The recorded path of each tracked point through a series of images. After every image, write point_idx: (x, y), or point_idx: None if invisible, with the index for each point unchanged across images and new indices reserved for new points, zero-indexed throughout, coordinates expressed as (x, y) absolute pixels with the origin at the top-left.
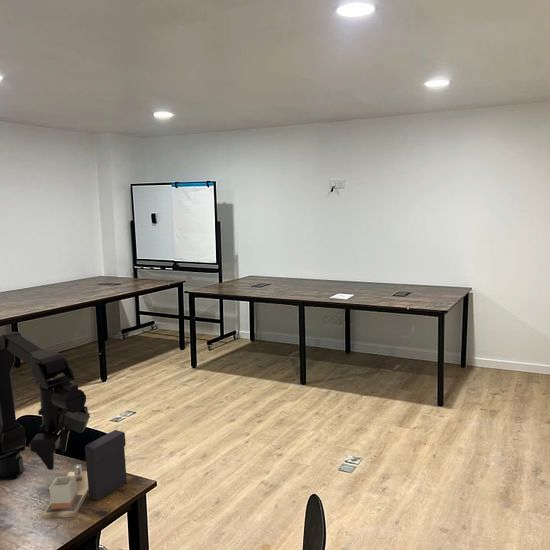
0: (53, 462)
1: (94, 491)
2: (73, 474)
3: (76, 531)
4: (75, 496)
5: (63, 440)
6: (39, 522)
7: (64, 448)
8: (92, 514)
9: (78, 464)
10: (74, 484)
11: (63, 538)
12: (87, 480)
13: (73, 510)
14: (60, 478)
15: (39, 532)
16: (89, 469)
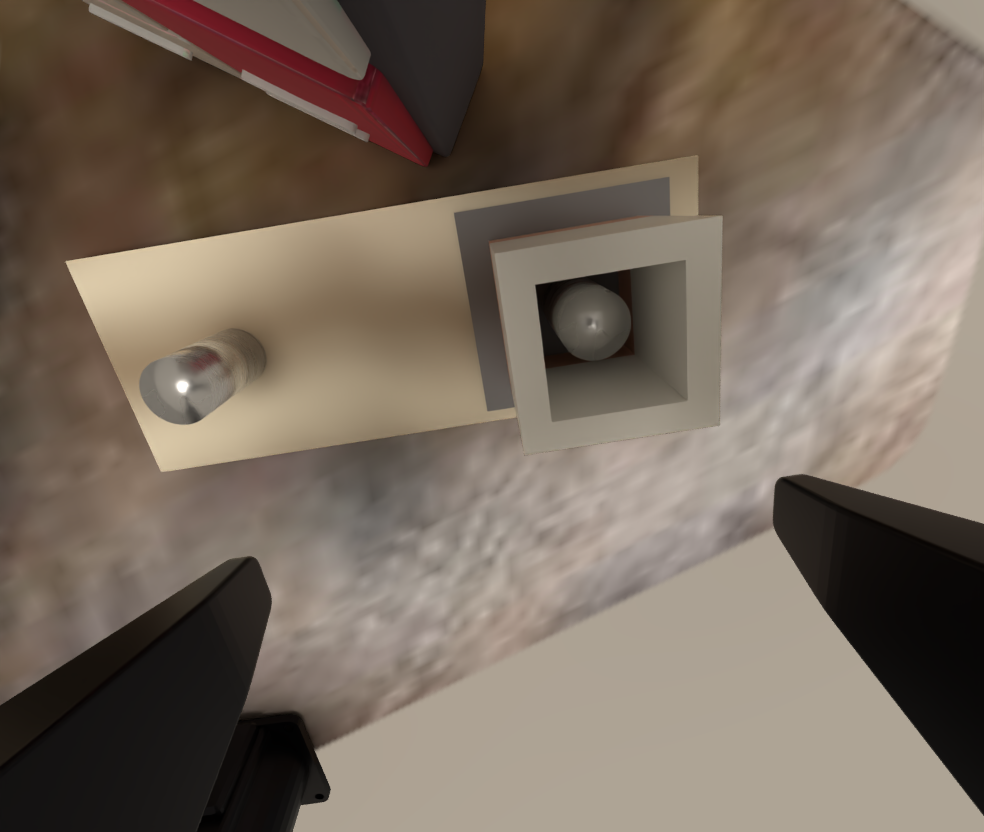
0: (933, 516)
1: (476, 60)
2: (183, 427)
3: (877, 53)
4: (530, 235)
5: (127, 747)
6: (726, 381)
7: (230, 597)
8: (665, 17)
9: (145, 397)
10: (544, 240)
11: (942, 120)
12: (235, 276)
13: (667, 184)
14: (547, 398)
15: (834, 327)
16: (448, 37)
